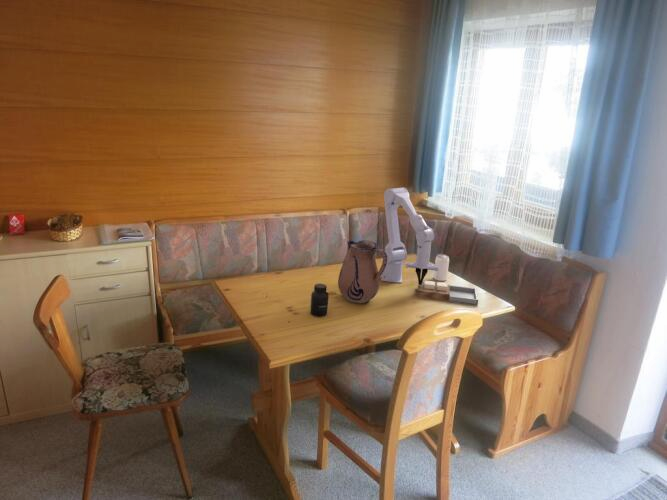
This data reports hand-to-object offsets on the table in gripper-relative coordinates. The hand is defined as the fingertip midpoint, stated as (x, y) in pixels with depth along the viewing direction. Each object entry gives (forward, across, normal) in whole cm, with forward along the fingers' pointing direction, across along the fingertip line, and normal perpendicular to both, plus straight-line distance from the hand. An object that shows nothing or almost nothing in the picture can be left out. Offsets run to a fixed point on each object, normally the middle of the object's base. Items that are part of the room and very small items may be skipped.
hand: (420, 283), depth 219 cm
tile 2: (+1, +10, 0) cm, 10 cm away
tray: (+4, +19, 0) cm, 20 cm away
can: (+4, +9, +21) cm, 23 cm away
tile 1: (+1, +4, 0) cm, 4 cm away
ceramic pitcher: (+4, -24, -18) cm, 30 cm away
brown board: (+4, +6, 0) cm, 7 cm away
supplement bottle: (+4, -38, -37) cm, 53 cm away
